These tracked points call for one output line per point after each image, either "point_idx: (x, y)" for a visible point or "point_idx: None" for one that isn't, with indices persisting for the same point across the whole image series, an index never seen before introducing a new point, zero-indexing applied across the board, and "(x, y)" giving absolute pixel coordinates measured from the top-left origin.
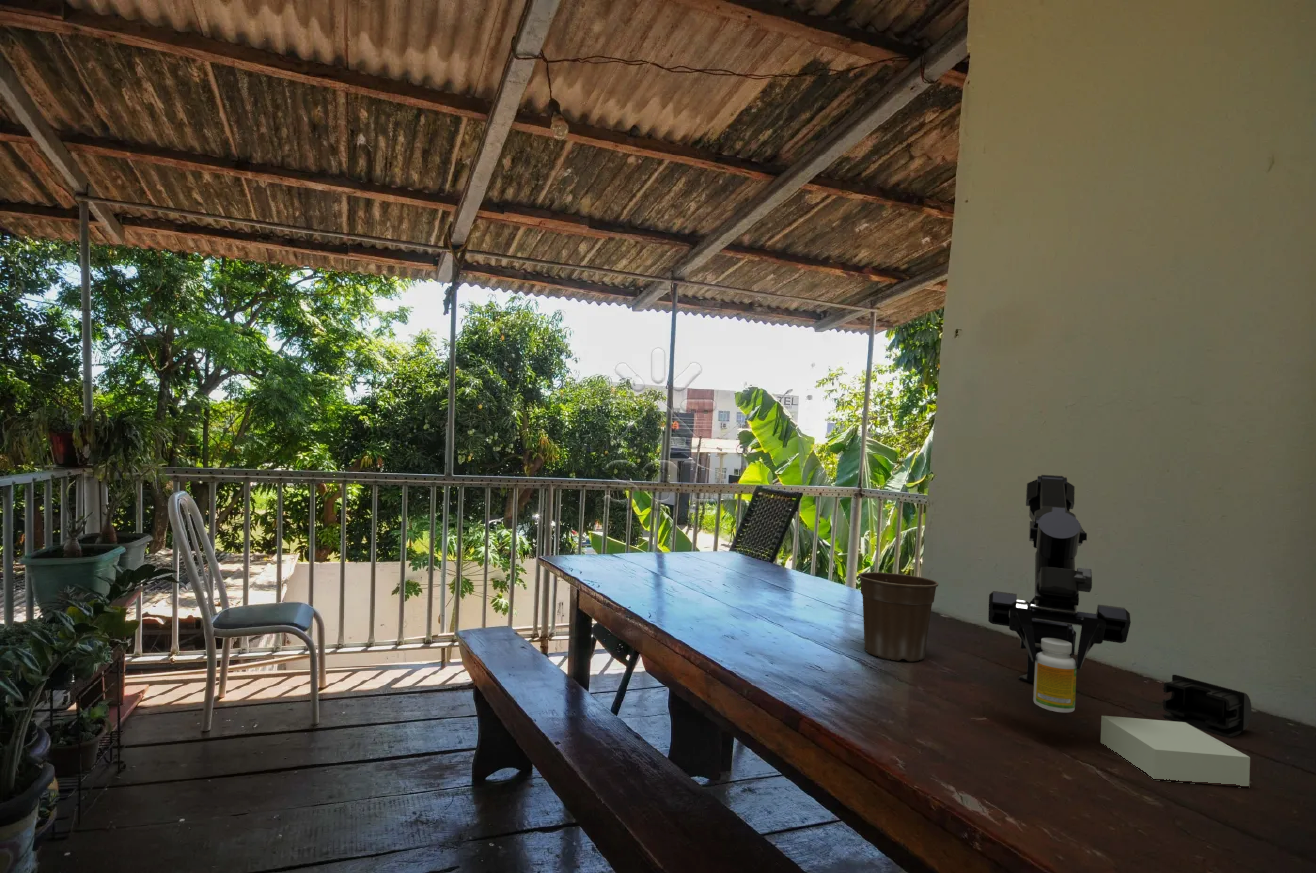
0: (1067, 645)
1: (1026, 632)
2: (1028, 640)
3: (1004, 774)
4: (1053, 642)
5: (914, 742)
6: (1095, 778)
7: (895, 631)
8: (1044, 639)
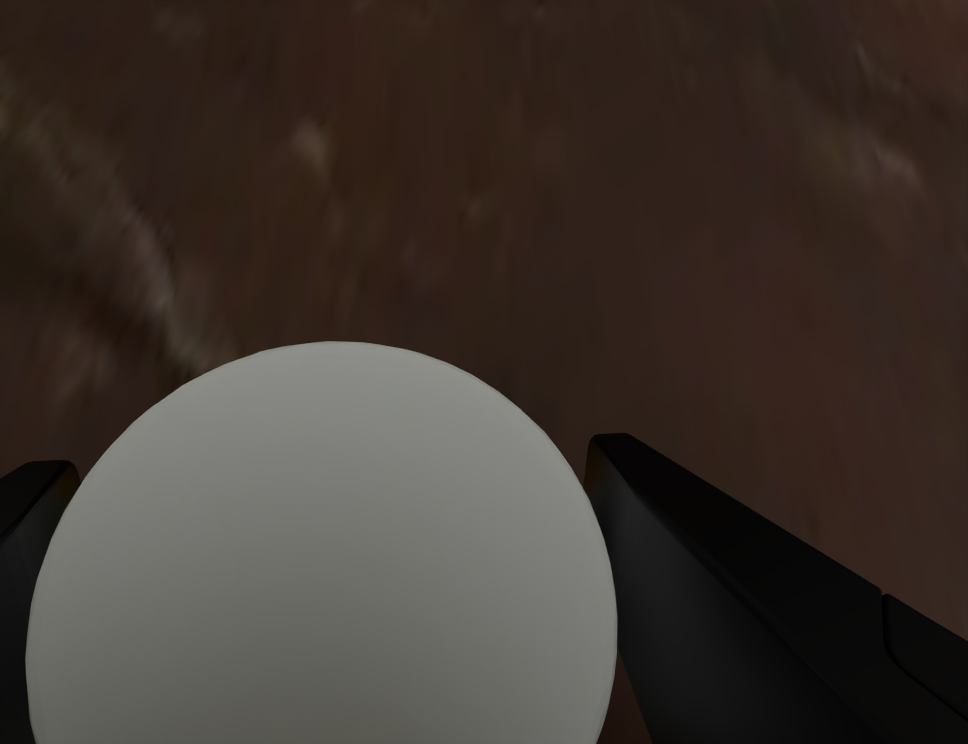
0: (139, 419)
1: (936, 635)
2: (800, 554)
3: (546, 23)
4: (393, 433)
5: (910, 136)
6: (187, 199)
7: None
8: (560, 580)
